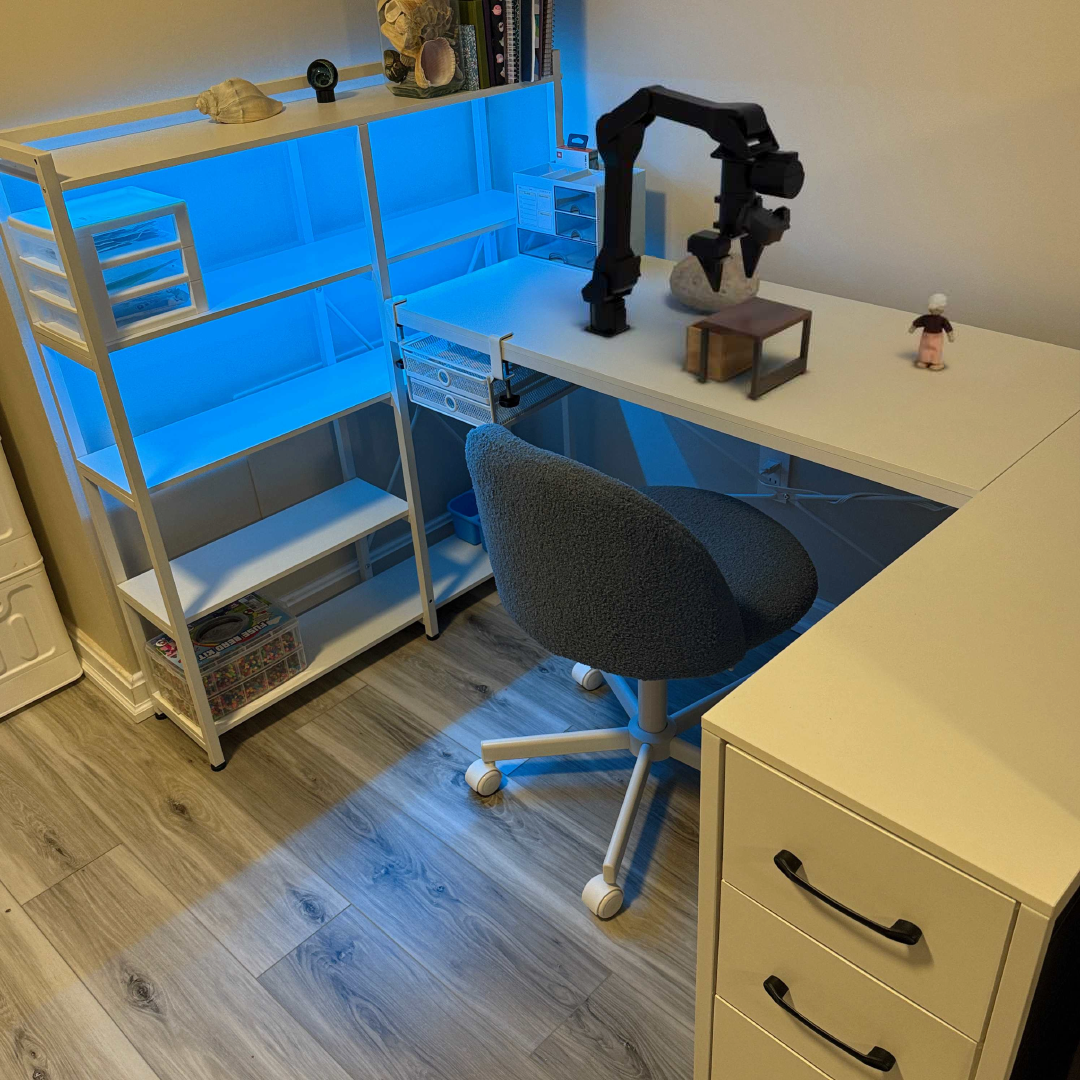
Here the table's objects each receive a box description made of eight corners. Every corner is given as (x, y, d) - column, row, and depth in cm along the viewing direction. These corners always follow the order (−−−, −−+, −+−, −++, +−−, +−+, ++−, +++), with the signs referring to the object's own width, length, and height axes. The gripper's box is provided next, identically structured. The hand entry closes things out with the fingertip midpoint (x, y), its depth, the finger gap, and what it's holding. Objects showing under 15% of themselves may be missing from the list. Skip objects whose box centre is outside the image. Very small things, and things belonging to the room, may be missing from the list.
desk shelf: (698, 382, 178) (701, 320, 172) (750, 355, 187) (755, 296, 181) (754, 400, 171) (759, 336, 165) (806, 372, 180) (812, 310, 174)
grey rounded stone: (653, 310, 208) (654, 261, 203) (691, 284, 220) (693, 237, 215) (737, 325, 200) (741, 273, 194) (771, 296, 212) (775, 247, 207)
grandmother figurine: (951, 364, 180) (964, 292, 173) (948, 372, 177) (961, 300, 170) (904, 358, 183) (915, 288, 176) (901, 366, 180) (912, 295, 173)
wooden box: (684, 370, 182) (686, 326, 178) (719, 353, 188) (721, 310, 184) (721, 382, 178) (724, 337, 173) (756, 364, 183) (759, 320, 179)
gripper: (745, 210, 156) (738, 310, 165) (814, 185, 167) (805, 280, 176) (686, 198, 163) (683, 295, 172) (756, 175, 174) (750, 267, 183)
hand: (732, 284), depth 175 cm, fingers open, 9 cm apart
